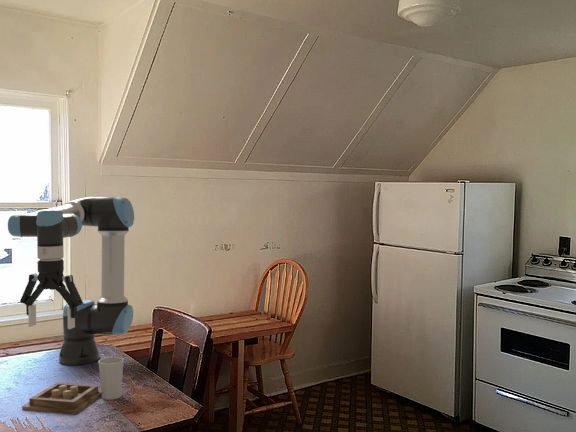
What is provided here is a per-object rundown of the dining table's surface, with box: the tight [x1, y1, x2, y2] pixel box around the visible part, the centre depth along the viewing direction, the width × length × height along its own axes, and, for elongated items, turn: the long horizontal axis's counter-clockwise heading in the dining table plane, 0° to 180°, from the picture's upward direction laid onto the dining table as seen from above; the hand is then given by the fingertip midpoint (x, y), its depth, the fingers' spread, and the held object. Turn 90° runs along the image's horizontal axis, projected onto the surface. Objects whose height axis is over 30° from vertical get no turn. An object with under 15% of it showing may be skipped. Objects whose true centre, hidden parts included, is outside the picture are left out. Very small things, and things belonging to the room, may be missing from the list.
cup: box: [97, 356, 125, 400], centre depth 190 cm, size 8×8×12 cm
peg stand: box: [21, 382, 102, 415], centre depth 185 cm, size 18×18×4 cm
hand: (51, 327), depth 180 cm, fingers open, 13 cm apart
